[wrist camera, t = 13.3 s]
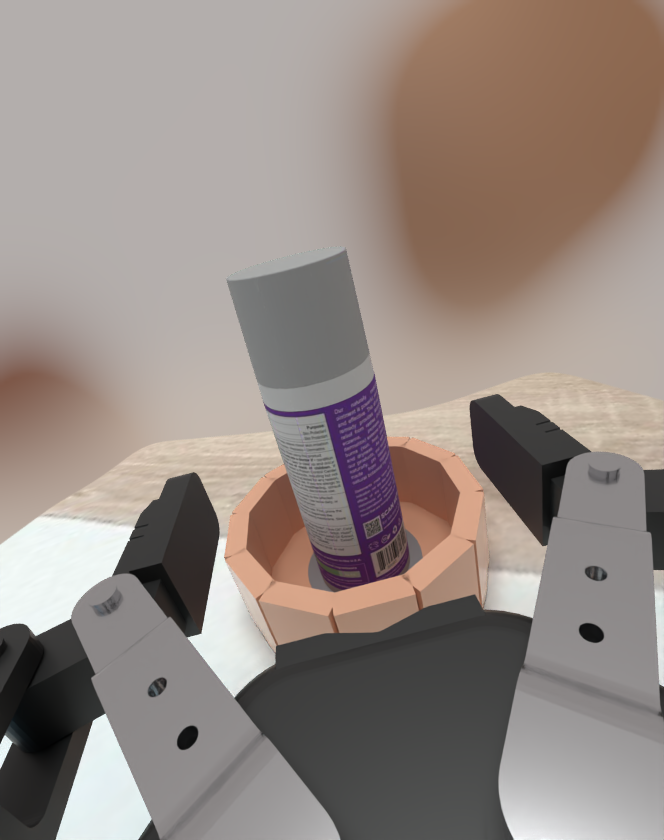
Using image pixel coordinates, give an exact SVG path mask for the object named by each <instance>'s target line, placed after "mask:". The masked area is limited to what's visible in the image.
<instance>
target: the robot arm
mask: <svg viewBox="0 0 664 840" xmlns="http://www.w3.org/2000/svg"><path fill="white" fill-rule="evenodd" d="M470 418H471V429H472V439H473V449H474V454H475V457H476V460H477V462H478V464H479V466H480V468H481V469H482V471H483V472H484V473H485V474H486V476H487V477H488V478H489V479H490V481H491V482H492V483H493V484H494V486H495V487H496V488H497V489H498V491H499V492H500V493H501V494H502V496H503V497H504V498H505V499H506V501H507V502H508V503H509V504H510V506H511V507H512V508H513V510H514V511H515V512H516V513H517V515H518V516H519V517H520V518H521V520H522V521H523V522H524V523H525V525H526V526H527V527H528V528H529V530H530V531H531V532H532V533H533V535H534V536H535V537H536V538H537V540H538V541H539V542H540V543H541V545H542V546H546V545H547V550H546V555H545V561H544V566H543V571H542V576H541V581H540V586H539V591H538V596H537V601H536V606H535V611H534V617H533V618H530V617H527V616H523V615H520V614H516V613H511V612H506V611H497V610H483V608H482V606H481V604H480V603H479V601H478V599H477V597H476V595H475V594H474V595H470V596H466V597H462V598H458V599H455V600H451V601H447V602H443V603H439V604H435V605H431V606H428V607H425V608H423V609H421V610H419V611H417V612H416V613H414V614H412V615H410V616H408V617H406V618H404V619H402V620H401V621H399V622H397V623H395V624H393V625H391V626H389V627H387V628H386V629H384V630H381V631H379V632H370V633H324V634H320V635H316V636H312V637H308V638H304V639H301V640H297V641H293V642H289V643H285V644H281V645H278V646H276V664H275V665H273V666H271V667H269V668H268V669H266V670H265V671H263V672H262V673H261V674H259V675H258V676H256V677H255V678H254V679H253V680H252V681H250V682H249V683H248V684H247V685H246V686H245V687H244V688H243V689H242V690H241V691H240V692H239V693H238V694H237V695H236V696H235V698H234V697H233V696H232V695H231V693H230V692H229V691H228V690H227V688H226V687H225V686H224V685H223V683H222V682H221V681H220V679H219V678H218V677H217V676H216V674H215V673H214V672H213V670H212V669H211V668H210V667H209V665H208V664H207V663H206V662H205V660H204V659H203V658H202V656H201V655H200V654H199V653H198V651H197V650H196V649H195V647H194V646H193V645H192V644H191V642H190V641H189V640H188V638H187V637H190V636H194V635H198V634H201V632H202V627H203V621H204V616H205V610H206V605H207V600H208V594H209V589H210V583H211V578H212V572H213V567H214V562H215V556H216V551H217V545H218V540H219V523H218V519H217V516H216V513H215V511H214V509H213V506H212V504H211V502H210V500H209V497H208V495H207V493H206V491H205V489H204V486H203V484H202V482H201V480H200V478H199V476H198V475H197V474H196V473H195V472H193V473H189V474H185V475H182V476H178V477H174V478H170V479H168V480H167V481H166V484H165V486H164V488H163V491H162V493H161V495H160V498H159V499H157V500H153V501H152V502H151V504H150V505H149V506H148V507H147V508H146V509H145V510H144V511H143V512H142V513H141V515H140V517H139V519H138V521H137V523H136V525H135V530H133V532H132V534H131V536H130V538H129V539H130V541H128V543H127V545H126V547H125V549H124V552H123V554H122V556H121V558H120V560H119V562H118V565H117V567H116V569H115V571H114V573H113V575H112V577H109V578H107V579H105V580H103V581H101V582H100V583H98V584H96V585H95V586H94V587H92V588H91V589H90V590H89V591H87V592H86V593H85V594H84V595H83V596H82V597H81V599H80V600H79V601H78V602H77V604H76V606H75V607H74V609H73V612H72V615H71V619H70V620H68V621H66V622H64V623H62V624H60V625H58V626H56V627H54V628H52V629H50V630H48V631H46V632H44V633H42V634H40V635H38V636H35V635H34V634H33V632H32V631H31V630H30V629H29V628H28V627H27V625H24V624H13V625H9V626H6V627H3V628H1V629H0V743H1V741H2V739H3V737H4V735H6V736H7V737H8V738H9V739H10V740H11V741H12V742H13V743H12V745H11V747H10V749H9V752H8V754H7V756H6V758H5V760H4V763H3V765H2V767H1V769H0V840H55V839H56V836H57V833H58V830H59V827H60V824H61V820H62V817H63V814H64V811H65V808H66V805H67V801H68V798H69V795H70V792H71V789H72V786H73V782H74V779H75V776H76V773H77V770H78V767H79V763H80V760H81V757H82V754H83V751H84V748H85V744H86V741H87V738H88V735H89V732H90V728H91V725H92V722H93V720H95V719H96V718H98V717H100V716H102V715H103V714H105V713H106V715H107V718H108V720H109V722H110V724H111V727H112V729H113V731H114V734H115V736H116V738H117V740H118V743H119V745H120V747H121V750H122V752H123V754H124V756H125V759H126V761H127V763H128V766H129V768H130V770H131V772H132V775H133V777H134V779H135V782H136V784H137V786H138V788H139V791H140V793H141V795H142V798H143V800H144V802H145V804H146V807H147V809H148V811H149V814H150V816H151V818H152V820H151V821H150V823H149V824H148V826H147V827H146V829H145V830H144V832H143V833H142V835H141V836H140V838H139V839H138V840H664V687H663V686H661V685H659V674H658V654H657V634H656V614H655V595H654V575H653V570H664V469H662V470H643V469H642V467H641V466H640V465H639V464H638V463H637V462H635V461H634V460H632V459H630V458H628V457H625V456H622V455H619V454H615V453H609V452H591V451H590V450H588V449H587V448H586V447H585V446H583V445H582V444H581V443H579V442H578V441H577V440H575V439H574V438H573V437H571V436H570V435H569V434H567V433H566V432H565V431H563V430H560V427H558V426H557V425H556V424H554V423H553V422H550V420H549V419H548V418H546V417H545V416H544V415H542V414H541V413H540V412H538V411H536V410H533V409H530V408H527V407H524V406H518V407H514V406H513V405H511V404H510V403H509V402H508V401H506V400H505V399H504V398H503V397H502V396H500V395H499V394H496V395H492V396H488V397H484V398H480V399H476V400H472V401H471V402H470Z"/></svg>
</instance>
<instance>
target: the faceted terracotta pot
mask: <svg viewBox="0 0 664 840" xmlns="http://www.w3.org/2000/svg"><path fill="white" fill-rule="evenodd" d="M387 440H388V446H389V451H390V456H391V461H392V466H393V471H394V476H395V481H396V486H397V491H398V497H399V502H400V507H401V512H402V517H403V522H404V527H405V532H406V537H407V543H408V548H409V554H410V564H409V568H408V571H407V572H406V573H405V574H403V575H399V576H395V577H392V578H388V579H384V580H380V581H376V582H373V583H369V584H365V585H361V586H358V587H354V588H350V589H346V590H342V591H339V592H333V591H332V590H331V589H330V588H329V587H328V586H327V585H326V584H325V582H324V580H323V578H322V575H321V572H320V569H319V566H318V564H317V561H316V558H315V555H314V552H313V549H312V546H311V543H310V540H309V537H308V534H307V531H306V528H305V525H304V522H303V519H302V516H301V513H300V510H299V507H298V504H297V501H296V498H295V495H294V492H293V489H292V486H291V483H290V480H289V477H288V474H287V471H286V468H285V465H284V464H283V465H281V466H279V467H278V468H276V469H274V470H272V471H271V472H269V473H267V474H266V475H264V476H265V478H264V477H262V478H261V479H260V480H259V481H258V482H257V483H256V485H255V486H254V487H253V488H252V489H251V491H250V492H249V493H248V494H247V495H246V496H245V498H244V499H243V500H242V501H241V502H240V504H239V505H238V506H237V507H236V508H235V510H234V511H233V512H232V514H233V515H231V516H230V522H229V529H228V536H227V542H226V549H225V556H224V558H225V562H226V564H227V566H228V568H229V570H230V572H231V574H232V577H233V579H234V581H235V583H236V585H237V587H238V589H239V592H240V594H241V596H242V598H243V600H244V602H245V604H246V607H247V609H248V611H249V613H250V615H251V617H252V619H253V621H254V622H255V624H256V625H257V626H258V628H259V629H260V630H261V632H262V633H263V635H264V637H265V639H266V640H267V642H268V644H269V645H270V647H271V648H272V650H273V651H274V652H275V653H276V646H278V645H281V644H285V643H289V642H293V641H297V640H301V639H304V638H308V637H312V636H316V635H320V634H324V633H370V632H379V631H381V630H384V629H386V628H387V627H389V626H391V625H393V624H395V623H397V622H399V621H401V620H402V619H404V618H406V617H408V616H410V615H412V614H414V613H416V612H417V611H419V610H421V609H423V608H425V607H428V606H431V605H435V604H439V603H443V602H447V601H451V600H455V599H458V598H462V597H466V596H470V595H474V594H475V595H476V597H477V599H478V601H479V603H480V604H481V606H482V608H483V606H484V603H485V598H486V593H487V580H488V576H487V572H488V564H489V546H488V535H487V523H486V511H485V499H484V492H483V488H482V487H481V486H480V484H479V483H478V482H477V480H476V479H475V478H474V476H473V475H472V474H471V472H470V471H469V470H468V468H467V467H466V466H465V464H464V463H463V462H462V460H461V459H460V458H459V457H458V455H457V456H455V453H452V452H449V451H447V450H444V449H441V448H439V447H436V446H434V445H431V444H428V443H426V442H423V441H420V440H418V439H415V438H411V439H410V437H387Z"/></svg>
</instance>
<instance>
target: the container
mask: <svg viewBox="0 0 664 840" xmlns="http://www.w3.org/2000/svg"><path fill="white" fill-rule="evenodd" d="M226 280H227V283H228V287H229V290H230V293H231V296H232V299H233V303H234V306H235V310H236V313H237V316H238V319H239V323H240V326H241V329H242V333H243V336H244V339H245V343H246V346H247V349H248V353H249V356H250V359H251V362H252V366H253V369H254V372H255V375H256V379H257V382H258V385H259V389H260V392H261V395H262V399H263V403H264V406H265V408H266V411H267V414H268V417H269V420H270V423H271V426H272V429H273V432H274V435H275V438H276V441H277V444H278V447H279V450H280V453H281V456H282V459H283V462H284V465H285V468H286V471H287V474H288V477H289V480H290V483H291V486H292V489H293V492H294V495H295V498H296V501H297V504H298V507H299V510H300V513H301V516H302V519H303V522H304V525H305V528H306V531H307V534H308V537H309V540H310V543H311V546H312V549H313V552H314V555H315V558H316V561H317V564H318V566H319V569H320V572H321V575H322V578H323V580H324V582H325V584H326V585H327V586H328V587H329V588H330V589H331V590H332V591H333V592H339V591H342V590H346V589H350V588H354V587H358V586H361V585H365V584H369V583H373V582H376V581H380V580H384V579H388V578H392V577H395V576H399V575H403V574H405V573H406V572H407V571H408V568H409V564H410V554H409V548H408V543H407V537H406V532H405V527H404V522H403V517H402V512H401V507H400V502H399V497H398V491H397V486H396V481H395V476H394V471H393V466H392V461H391V456H390V451H389V446H388V440H387V435H386V430H385V425H384V420H383V415H382V410H381V405H380V400H379V395H378V389H377V384H376V380H375V374H374V371H373V366H372V363H371V358H370V353H369V349H368V344H367V340H366V336H365V331H364V327H363V322H362V318H361V313H360V309H359V304H358V300H357V296H356V291H355V287H354V282H353V278H352V274H351V269H350V265H349V260H348V256H347V251H346V248H345V247H330V248H323V249H318V250H313V251H308V252H304V253H299V254H294V255H291V256H287V257H283V258H279V259H275V260H272V261H269V262H265V263H262V264H259V265H255V266H252V267H249V268H247V269H244V270H241V271H239V272H236V273H234V274H232V275H230V276H229V277H228V278H227V279H226Z"/></svg>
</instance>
